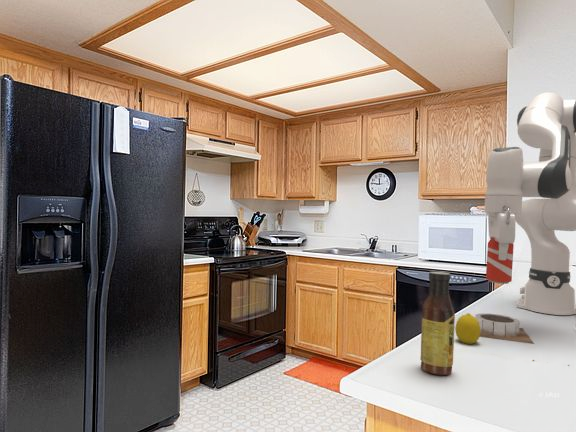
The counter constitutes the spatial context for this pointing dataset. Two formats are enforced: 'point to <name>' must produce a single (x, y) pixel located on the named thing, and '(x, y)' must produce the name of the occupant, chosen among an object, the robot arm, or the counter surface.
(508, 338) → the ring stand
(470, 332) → the lemon
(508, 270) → the beverage can
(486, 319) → the white segmented ring
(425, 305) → the sauce bottle
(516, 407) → the counter surface
